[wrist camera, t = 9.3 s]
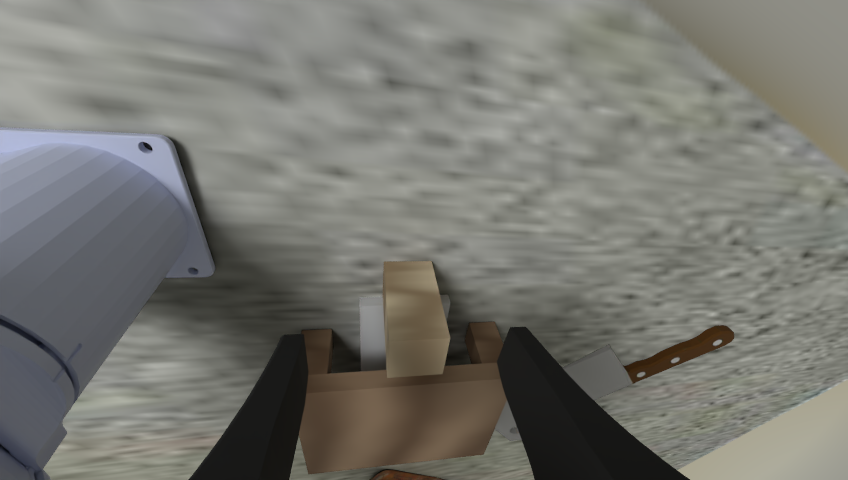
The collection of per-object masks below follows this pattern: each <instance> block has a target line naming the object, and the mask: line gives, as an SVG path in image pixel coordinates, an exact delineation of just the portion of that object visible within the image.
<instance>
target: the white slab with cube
mask: <svg viewBox="0 0 848 480" xmlns="http://www.w3.org/2000/svg"><path fill="white" fill-rule="evenodd" d="M449 308H450V299H449V296H448V295H440V294H439V290H438V285H437V281H436V277H435V273H434V269H433V265H432V261H402V262H384V273H383V297H360V347H361V372H362V371H377V370H387V378H394V377H409V376H423V375H438V374H443V370H444V366H445V361H446V356H447V352H448V347H449V343H450V335H449V331H448V326H447V318H448V313H449Z"/></svg>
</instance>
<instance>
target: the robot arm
mask: <svg viewBox="0 0 848 480" xmlns="http://www.w3.org/2000/svg"><path fill="white" fill-rule="evenodd" d="M143 142H146V143H148V144H149V145H151V147H152V150H148V149H147V148H146V147H145V146H144V145H143ZM192 268H196V269H197V270H194V269H192ZM214 271H215V265H214V262H213V259H212V256H211V253H210V250H209V247H208V244H207V241H206V238H205V235H204V232H203V229H202V226H201V223H200V220H199V217H198V214H197V211H196V208H195V205H194V202H193V199H192V196H191V193H190V190H189V187H188V184H187V181H186V178H185V175H184V172H183V169H182V166H181V163H180V160H179V158H178V155H177V152H176V149H175V146H174V144H173V142H172V141H171V140H170V139H169V138H167V137H165V136H164V135H159V134H139V133H117V132H94V131H72V130H49V129H27V128H4V127H0V480H50V477H49V476H48V474H47V473H46V472H45V471H44V470H43V468H44V466H45V465H46V464H47V462H48V461H49V459H50V458H51V456H52V455H53V453H54V452H55V450H56V449H57V447H58V446H59V445H60V443H61V442H62V440H63V439H64V437H65V436H66V434H67V431H66V430H65V428H64V427H63V424H62V422H63V419H64V417H65V416H66V414H67V413H68V412H69V410H70V409H71V407H72V405H73V404H74V403H75V401H76V400H77V398H78V397H79V396H80V394H81V393H82V391H83V390H84V389H85V387H86V386H87V385H88V383H89V382H90V380H91V379H92V378H93V376H94V375H95V373H96V372H97V371H98V369H99V368H100V366H101V365H102V364H103V362H104V361H105V359H106V358H107V357H108V355H109V354H110V352H111V351H112V350H113V348H114V347H115V346H116V344H117V343H118V341H119V340H120V339H121V337H122V336H123V334H124V333H125V332H126V330H127V329H128V327H129V326H130V325H131V323H132V322H133V320H134V319H135V318H136V316H137V315H138V314H139V312H140V311H141V309H142V308H143V307H144V305H145V304H146V302H147V301H148V300H149V298H150V297H151V295H152V294H153V293H154V291H155V290H156V288H157V287H158V286H159V284H160V283H161V281H162V280H163V279H164V278H190V277H210V276H211V275H212V274H213V273H214ZM497 365H498V370H499V374H500V378H501V382H502V386H503V390H504V393H505V396H506V399H507V401H508V404H509V407H510V410H511V412H512V415H513V418H514V420H515V423H516V426H517V428H518V431H519V434H520V436H521V439H522V442H523V444H524V447H525V450H526V453H527V456H528V459H529V462H530V465H531V468H532V471H533V475H534V479H535V480H690V479H688V478H687V477H685V476H684V475H683V474H681V473H680V472H678V471H677V470H676V469H674V468H673V467H672V466H670V465H669V464H668V463H666V462H665V461H664V460H662V459H661V458H660V457H659V456H657V455H656V454H655V453H654V452H652V451H651V450H650V449H649V448H647V447H646V446H645V445H643V444H642V443H641V442H640V441H639V440H637V439H636V438H635V437H634V436H632V435H631V434H630V433H629V432H628V431H627V430H626V429H624V428H623V427H622V426H621V425H620V424H619V423H618V422H616V421H615V420H614V419H613V418H612V417H611V416H610V415H609V414H607V413H606V412H605V411H604V410H603V409H602V408H601V407H600V406H599V405H598V404H597V403H596V402H595V401H594V400H593V399H592V398H591V397H590V396H589V395H588V394H587V393H586V392H585V391H584V390H583V389H582V388H581V387H580V386H579V385H578V384H577V383H576V382H575V381H574V380H573V379H572V378H571V377H570V376H569V375H568V373H567V372H566V371H565V370H564V369H563V368H562V367H561V366H560V365H559V364H558V363H557V362H556V360H555V359H554V358H553V357H552V356H551V355H550V354H549V353H548V351H547V350H546V349H545V348H544V347H543V346H542V345H541V343H540V342H539V341H538V340H537V339H536V338H535V337H534V336H533V334H532V333H531V332H530V331H529V330H528V329H527V328H526V327H510V329H509V332H508V334H507V337H506V339H505V342H504V345H503V347H502V350H501V352H500V355H499V357H498V360H497ZM308 372H309V371H308V363H307V355H306V347H305V339H304V334H295V335H283V336H282V337H281V338H280V341H279V343H278V345H277V347H276V349H275V351H274V353H273V355H272V357H271V359H270V361H269V362H268V364H267V366H266V368H265V369H264V371H263V373H262V375H261V377H260V378H259V380H258V382H257V383H256V385H255V386H254V388H253V390H252V391H251V393H250V395H249V396H248V398H247V400H246V401H245V403H244V404H243V406H242V407H241V409H240V410H239V412H238V413H237V415H236V416H235V418H234V419H233V421H232V422H231V423H230V425H229V426H228V428H227V429H226V431H225V432H224V434H223V435H222V437H221V438H220V439H219V441H218V442H217V443H216V445H215V446H214V448H213V449H212V450H211V452H210V453H209V454H208V456H207V457H206V458H205V459H204V461H203V462H202V463H201V465H200V466H199V467H198V469H197V470H196V471H195V472H194V474H193V475H192V476H191V477H190V479H189V480H289V478H290V473H291V468H292V463H293V459H294V454H295V449H296V445H297V440H298V435H299V431H300V426H301V421H302V416H303V411H304V407H305V400H306V391H307V382H308Z"/></svg>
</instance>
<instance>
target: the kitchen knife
mask: <svg viewBox="0 0 848 480" xmlns="http://www.w3.org/2000/svg"><path fill="white" fill-rule="evenodd" d="M733 339H734V332H733V331H732V330H731V329H729V328H728V327H727V326H724V325H720V326H714V327H712V328H710V329H707V330H705V331H704V332H703V333H701V334H700V335H699V336H697V337H695V338H693V339H691V340H688V341H686V342H682V343H679V344H677V345H674V346H672V347H670V348H668V349H665V350H663V351H661V352H659V353H657V354H656V355H654V356H652V357H650V358H648V359H645V360H641V361H636V362H634V363H632V364H629V365H627V366H623V365H622V364H621V362H620V361H619V359H618V358H617V356H616V355H615V353H614V352H613V350H612V349H611V347H610V345H609V344H608V345H606V346H604V347H602V348H600V349H598V350H596V351H594V352H592V353H590V354H588V355H587V356H585V357H583V358H581V359H579V360H577V361H575V362H573V363H571V364H569V365H567V366H565V367H563V369H564V370H565V371H566V372H567V373H568V375H569V376H570V377H571V378H572V379H573V380H574V381H575V382H576V383H577V384H578V385H579V386H580V387H581V388H582V389H583V390H584V391H585V392H586V393H587V394H588V395H589V396H590V397H591V398H592V399H593V400H596V399H599V398H601V397H603V396H606V395H608V394H610V393H613V392H615V391H617V390H620V389H622V388H624V387H627V386H629V385H631V384H633V383H636V382H638V381H640V380H642V379H645V378H647V377H650V376H652V375H655V374H657V373H659V372H662V371H664V370H667V369H669V368H671V367H674V366H676V365H679V364H681V363H684V362H686V361H688V360H691V359H693V358H696V357H698V356H700V355H703V354H705V353H708V352H710V351H713V350H715V349H717V348H720V347H722V346H725V345H726V344H728V343H730V342H731V341H732V340H733ZM513 427H516V428H513ZM495 429H496V430H497V431H498V432H499V433H501V434H502V435H503V436H504V437H506V438H507V439H508V440H509V441H513V440H522V439H521V436H520V434H519V431H518V428H517V426H516V423H515V420H514V418H513V415H512V412H511V410H510V407H509V404H508V401H506V403H505V406H504V408H503V410H502V413H501V415H500V417H499V420H498V422H497V424H496V427H495Z"/></svg>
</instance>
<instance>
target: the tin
mask: <svg viewBox="0 0 848 480" xmlns="http://www.w3.org/2000/svg"><path fill="white" fill-rule="evenodd" d="M370 480H443V479H441V478H437V477H431V476H425V475H418V474H413V473H407V472H401V471H396V470H385V471H382V472H380V473H378V474H377V475H375V476H374V477H373V478H371V479H370Z"/></svg>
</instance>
